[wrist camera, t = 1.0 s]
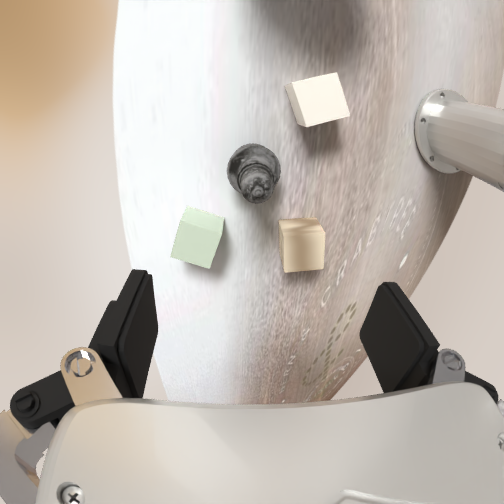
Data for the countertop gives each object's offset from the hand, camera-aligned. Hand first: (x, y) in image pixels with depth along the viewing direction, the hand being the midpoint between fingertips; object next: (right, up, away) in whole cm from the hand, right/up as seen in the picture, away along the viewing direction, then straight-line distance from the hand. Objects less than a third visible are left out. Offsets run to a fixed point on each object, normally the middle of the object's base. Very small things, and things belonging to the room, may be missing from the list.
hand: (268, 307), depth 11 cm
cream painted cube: (+6, +20, +19) cm, 28 cm away
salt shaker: (-1, +13, +23) cm, 26 cm away
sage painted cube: (-7, +5, +27) cm, 28 cm away
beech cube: (+5, +4, +28) cm, 29 cm away
